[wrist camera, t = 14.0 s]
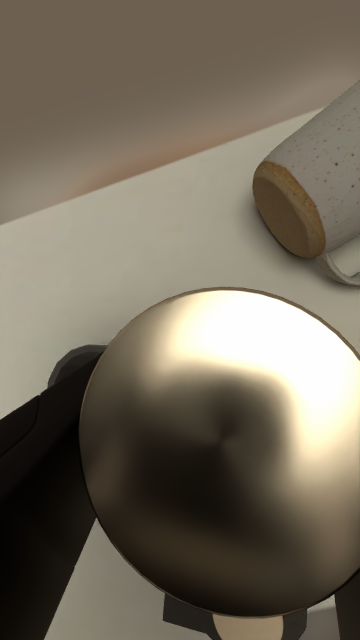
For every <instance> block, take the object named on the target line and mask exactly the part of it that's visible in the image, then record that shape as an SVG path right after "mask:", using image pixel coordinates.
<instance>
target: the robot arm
mask: <svg viewBox="0 0 360 640" xmlns="http://www.w3.org/2000/svg"><path fill="white" fill-rule="evenodd" d="M104 351H105V350H104ZM104 351H103V352H101V353H100V354H98V355H97V356H95V357H94V358H92V359H91V360H89V361H88V362H86V363H85V364H83V365H82V366H80V367H79V368H77V369H76V370H74V371H73V372H71V373H70V374H68V375H67V376H65V377H64V378H63V379H61V380H60V381H58V382H57V383H55V384H54V385H52V386H51V387H49V388H48V389H46V390H45V391H43V392H42V393H41V394H40V395H37V396H36V397H34V398H33V399H31V400H30V401H28V402H27V403H25V404H24V405H22V406H21V407H19V408H18V409H16V410H14V411H13V412H11V413H10V414H8V415H7V416H5V417H4V418H2V419H1V420H0V640H44V638H45V636H46V634H47V631H48V629H49V627H50V624H51V622H52V620H53V617H54V615H55V613H56V610H57V608H58V606H59V603H60V601H61V599H62V596H63V594H64V592H65V589H66V587H67V585H68V582H69V580H70V578H71V575H72V573H73V571H74V568H75V567H74V566H75V565H76V563H77V561H78V559H79V556H80V554H81V552H82V549H83V547H84V545H85V543H86V540H87V538H88V536H89V533H90V531H91V529H92V526H93V524H94V522H95V519H96V515H95V513H94V510H93V508H92V506H91V503H90V500H89V498H88V495H87V492H86V489H85V485H84V481H83V476H82V472H81V467H80V458H79V449H78V434H79V420H80V412H81V407H82V403H83V399H84V395H85V391H86V388H87V385H88V383H89V380H90V377H91V375H92V372H93V371H94V369H95V367H96V365H97V363H98V361H99V359H100V357H101V356H102V354H103V353H104ZM334 596H335V604H336V611H337V618H338V626H339V633H340V640H360V572H359V573H358V574H357V575H356V576H355V577H354V578H353V579H352V580H351V581H350V582H349V583H348V584H347V585H346V586H344V587H343V588H342V589H340V590H339V591H338V592H336V593H335V594H334Z"/></svg>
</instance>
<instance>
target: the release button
mask: <svg viewBox="0 0 360 640" xmlns="http://www.w3.org/2000/svg"><path fill="white" fill-rule="evenodd" d="M213 620H214V624H215V627H216V629H217V632H218V634H219V635H220V637H221V639H222V640H281V637H282V633H283V618H282V616H278V617H271V618H265V619H240V618H233V617H226V616H219V615H216V614H213Z"/></svg>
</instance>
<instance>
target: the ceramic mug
mask: <svg viewBox="0 0 360 640" xmlns="http://www.w3.org/2000/svg"><path fill="white" fill-rule="evenodd" d="M253 195H254V198H255V202H256V204H257V207H258V209H259V212H260V214H261V216H262V218H263V220H264V221H265V223H266V224H267V226H268V227H269V229H270V231H271V232H272V233H273V234H274V236H275V237H276V238H277V240H278V241H279V242H280V243H281V244H282V245H283V246H284V247H285V248H286V249H288V250H289V251H290V252H292V253H293V254H295V255H297V256H301V257H307V258H314V257H316V259H317V261H318V264H319V266H320V267H321V269H322V270H323V271H324V272H325V273H326V274H327V275H328V276H329V277H331V278H332V279H334V280H336V281H338V282H340V283H344V284H348V285H354V286H360V272H358V273H357V274H356V275H355V276H354V277H352V278H351V277H348V276H347V275H345V274H343V273H341V272H340V270H339V269H338V268H337V267H336V266H335V264H334V263H333V261H332V259H331V258H330V255H329V253H330V251H332V250H334V249H336V248H338V247H340V246H341V245H343V244H345V243H346V242H348V241H349V240H351V239H352V238H354V237H356V236H357V235H359V234H360V80H359V81H358V82H357V83H355V84H354V85H353V86H352V87H351V88H349V89H348V90H347V91H346V92H345V93H343V94H342V95H341V96H339V97H338V98H337V99H336V100H334V101H333V102H332V103H331V104H330V105H328V106H327V107H326V108H324V109H323V110H322V111H321V112H319V113H318V114H317V115H316V116H314V117H313V118H312V119H311V120H310V121H308V122H307V123H306V124H305V125H304V126H302V127H301V128H300V129H299V130H297V131H296V132H295V133H293V134H292V135H291V136H289V137H288V138H287V139H286V140H284V141H283V142H282V143H281V144H279V145H278V146H277V147H276V148H275V149H274V150H273V151H272V152H270V154H269V155H268V156H267V157H266V158H265V159H264V160H263V161H262V162H261V163H260V164H259V166H258V167H257V169H256V171H255V173H254V177H253Z"/></svg>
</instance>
